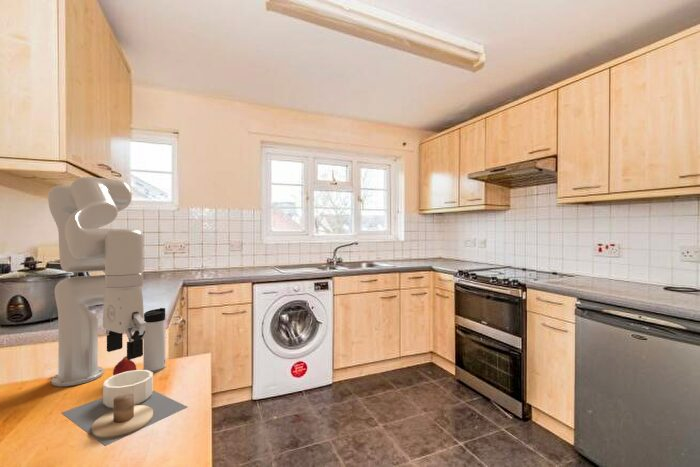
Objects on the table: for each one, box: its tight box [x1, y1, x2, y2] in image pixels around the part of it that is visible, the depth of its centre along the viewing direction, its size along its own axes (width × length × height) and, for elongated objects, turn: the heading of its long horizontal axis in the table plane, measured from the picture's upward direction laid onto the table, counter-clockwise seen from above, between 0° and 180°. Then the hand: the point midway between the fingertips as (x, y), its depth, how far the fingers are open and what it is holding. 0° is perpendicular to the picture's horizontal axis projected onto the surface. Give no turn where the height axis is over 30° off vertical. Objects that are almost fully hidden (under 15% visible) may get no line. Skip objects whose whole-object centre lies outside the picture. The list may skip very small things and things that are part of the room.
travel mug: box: [143, 307, 167, 373], centre depth 110 cm, size 6×7×20 cm
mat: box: [61, 389, 188, 447], centre depth 85 cm, size 24×19×1 cm
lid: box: [92, 393, 153, 438], centre depth 79 cm, size 12×12×6 cm
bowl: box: [102, 369, 154, 409], centre depth 90 cm, size 11×11×6 cm
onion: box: [112, 355, 137, 376], centre depth 101 cm, size 6×6×8 cm
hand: (124, 353), depth 79 cm, fingers open, 9 cm apart
